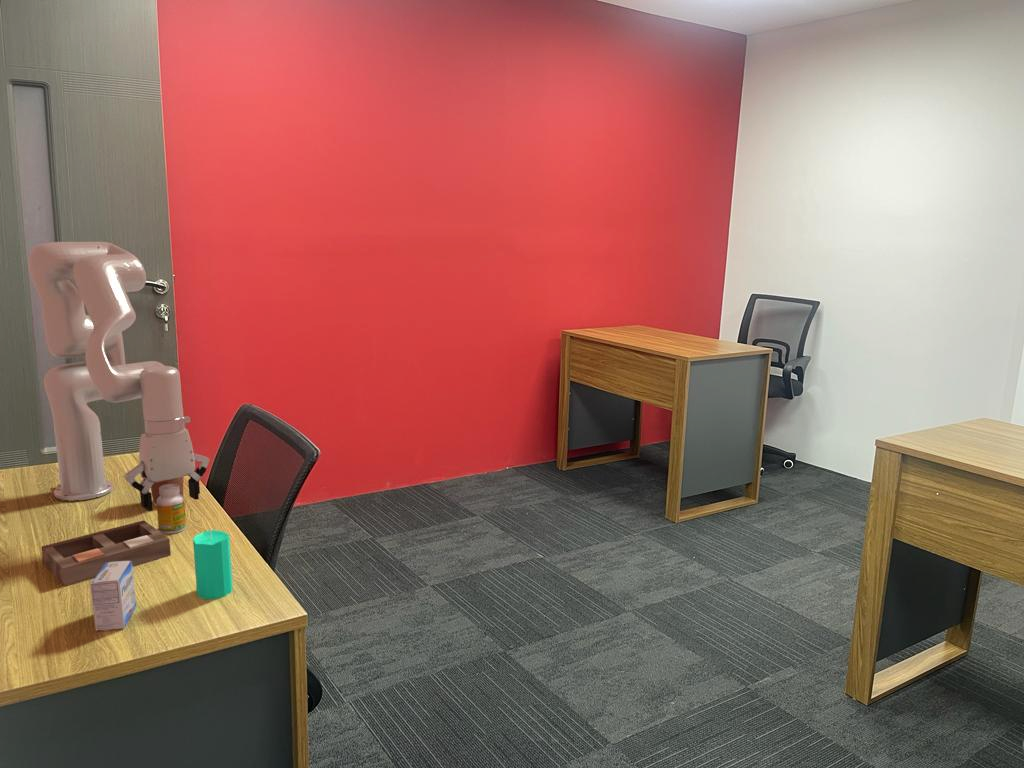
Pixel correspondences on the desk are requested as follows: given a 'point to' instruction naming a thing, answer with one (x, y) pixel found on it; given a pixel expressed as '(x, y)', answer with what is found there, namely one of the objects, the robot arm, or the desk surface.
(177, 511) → the supplement bottle
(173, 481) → the coffee cup
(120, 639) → the desk surface
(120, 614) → the medicine box
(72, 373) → the robot arm
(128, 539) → the socket block
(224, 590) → the candle
